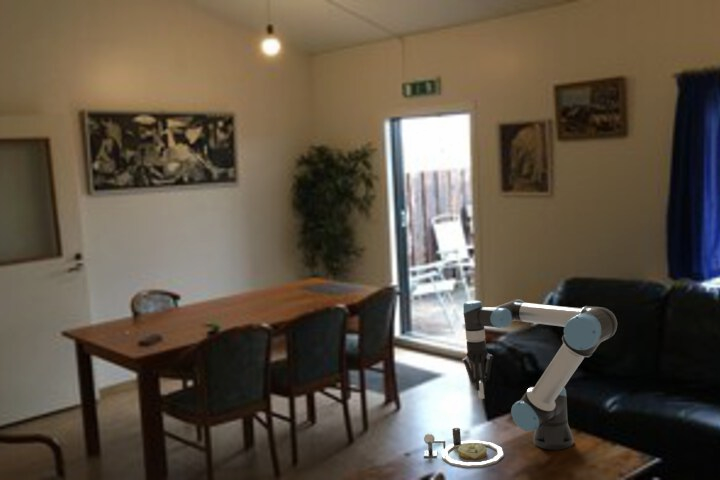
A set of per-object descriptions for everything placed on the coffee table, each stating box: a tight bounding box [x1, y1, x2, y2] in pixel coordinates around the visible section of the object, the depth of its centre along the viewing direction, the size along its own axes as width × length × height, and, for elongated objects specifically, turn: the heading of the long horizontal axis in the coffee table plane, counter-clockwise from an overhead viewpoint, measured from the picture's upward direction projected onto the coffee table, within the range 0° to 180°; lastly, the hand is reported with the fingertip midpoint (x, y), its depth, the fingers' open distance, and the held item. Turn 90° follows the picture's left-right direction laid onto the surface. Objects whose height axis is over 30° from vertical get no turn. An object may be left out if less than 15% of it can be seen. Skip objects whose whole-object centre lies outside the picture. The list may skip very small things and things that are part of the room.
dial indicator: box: [423, 433, 447, 459], centre depth 284 cm, size 8×5×9 cm, turn 79°
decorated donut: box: [457, 443, 488, 461], centre depth 281 cm, size 10×11×4 cm
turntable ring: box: [441, 427, 505, 469], centre depth 282 cm, size 23×24×7 cm
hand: (481, 397), depth 293 cm, fingers closed
